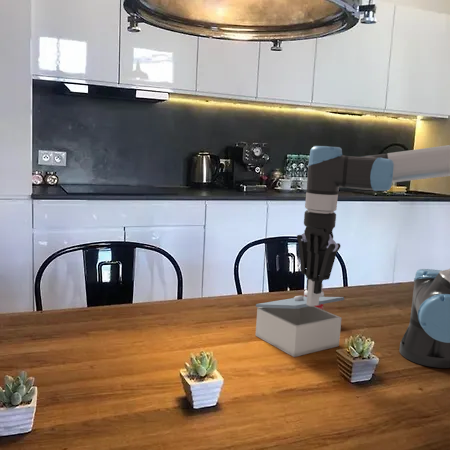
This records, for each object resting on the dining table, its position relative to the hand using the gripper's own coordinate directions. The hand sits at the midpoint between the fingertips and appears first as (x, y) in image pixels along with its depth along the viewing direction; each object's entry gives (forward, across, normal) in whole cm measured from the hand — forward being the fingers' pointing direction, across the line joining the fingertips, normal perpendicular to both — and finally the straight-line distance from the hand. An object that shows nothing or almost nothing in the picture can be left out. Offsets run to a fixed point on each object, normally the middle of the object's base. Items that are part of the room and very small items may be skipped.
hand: (312, 304), depth 132 cm
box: (+14, +10, -5) cm, 18 cm away
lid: (+3, +10, -5) cm, 12 cm away
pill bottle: (+14, +22, -22) cm, 34 cm away
